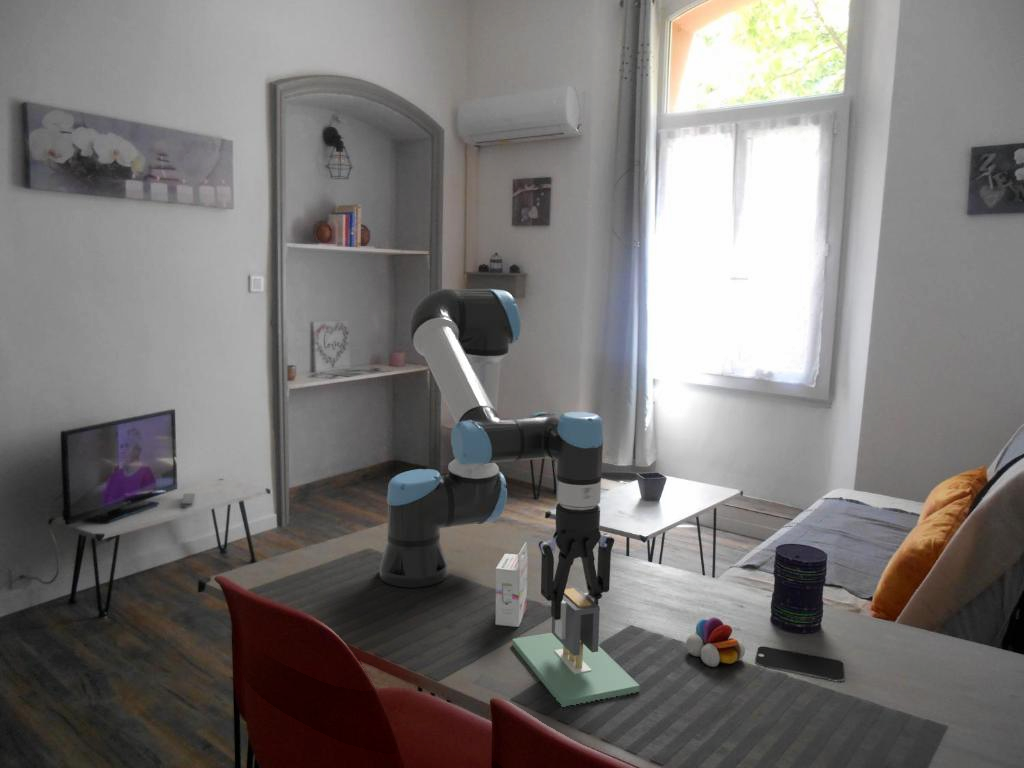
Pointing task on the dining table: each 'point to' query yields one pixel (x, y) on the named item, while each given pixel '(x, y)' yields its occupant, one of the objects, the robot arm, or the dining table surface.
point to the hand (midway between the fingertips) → (574, 633)
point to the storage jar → (798, 588)
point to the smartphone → (800, 663)
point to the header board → (574, 670)
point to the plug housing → (579, 622)
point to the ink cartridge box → (511, 588)
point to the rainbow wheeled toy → (714, 643)
